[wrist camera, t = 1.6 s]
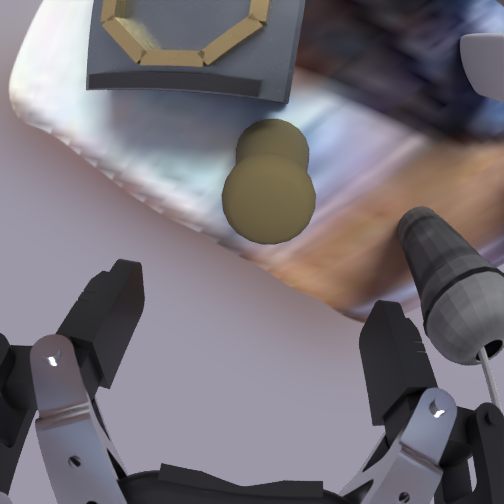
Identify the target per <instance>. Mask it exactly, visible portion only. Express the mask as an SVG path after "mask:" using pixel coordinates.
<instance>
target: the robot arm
mask: <svg viewBox="0 0 504 504" xmlns="http://www.w3.org/2000/svg"><path fill="white" fill-rule="evenodd" d="M144 301H145V296H144V286H143V274H142V266H141V263H139V262H134V261H129V260H124V259H118V260H117V261H116V263H115V264H114V266H113V267H112V269H111V270H110V272H106V271H102V272H101V273H99V274H98V275H96V276H95V277H94V278H92V279H91V280H90V282H89V283H88V285H87V286H86V287H85V289H84V292H82V294H81V295H80V296H79V298H78V301H76V303H75V304H74V306H73V307H72V308H71V310H70V312H69V313H68V315H67V316H66V318H65V319H64V321H63V323H62V324H61V326H60V327H59V329H58V331H57V332H56V334H52V335H47V336H44V337H43V338H40V339H39V340H38V341H37V342H36V343H35V344H34V345H33V346H17V345H10V344H9V342H8V340H7V339H6V337H5V336H4V335H3V334H1V333H0V504H12V502H11V500H10V498H9V497H8V494H9V490H10V486H11V483H12V479H13V476H14V472H15V469H16V466H17V463H18V460H19V457H20V454H21V451H22V448H23V445H24V442H25V439H26V436H27V434H28V431H29V428H30V426H31V423H32V420H33V418H34V415H35V413H36V410H39V418H38V419H36V421H35V428H36V433H37V437H38V441H39V445H40V449H41V453H42V456H43V460H44V463H45V466H46V470H47V473H48V476H49V479H50V483H51V486H52V488H53V491H54V494H55V497H56V499H57V502H58V504H430V502H431V499H432V498H433V495H434V504H504V416H503V414H502V412H501V410H500V409H499V408H498V407H497V406H496V405H494V404H492V403H483V404H481V405H480V406H479V407H478V408H477V409H476V410H474V411H473V410H470V409H466V408H462V407H458V406H456V403H455V401H454V399H453V397H452V396H451V395H450V394H449V393H448V392H446V391H445V390H443V389H440V388H438V386H437V382H436V379H435V377H434V373H433V370H432V367H431V364H430V361H429V359H428V355H427V353H425V351H426V350H425V347H424V344H423V343H422V339H421V336H420V334H419V331H418V329H417V327H416V326H415V325H414V324H413V322H412V321H411V320H410V319H409V318H405V316H404V313H403V310H402V308H401V305H400V304H399V303H398V302H390V301H382V300H378V301H377V302H376V303H375V305H374V307H373V309H372V311H371V313H370V315H369V317H368V319H367V321H366V323H365V325H364V327H363V328H362V331H361V333H360V338H359V348H360V354H361V358H362V364H363V369H364V375H365V380H366V386H367V392H368V397H369V404H370V411H371V417H372V424H373V426H377V425H379V426H380V425H385V432H384V433H383V434H382V436H381V437H380V439H379V441H378V442H377V444H376V446H375V447H374V449H373V450H372V452H371V453H370V455H369V456H368V458H367V459H366V461H365V462H364V464H363V465H362V467H361V468H360V470H359V471H358V473H357V474H356V475H355V476H354V477H353V479H352V480H351V481H350V482H349V483H348V484H347V485H346V486H345V487H344V488H343V489H342V490H341V491H340V493H339V494H336V493H333V492H330V491H327V490H324V489H323V481H285V480H284V481H279V482H273V483H267V484H260V485H254V486H239V485H236V484H233V483H230V482H227V481H225V480H222V479H220V478H217V477H214V476H212V475H209V474H207V473H204V472H202V471H197V470H192V469H187V468H181V467H177V466H172V465H167V464H163V463H162V464H161V468H160V470H154V471H144V472H140V473H135V474H132V475H128V473H127V471H126V469H125V467H124V464H123V462H122V461H121V459H120V456H119V454H118V452H117V451H116V449H115V447H114V444H113V442H112V440H111V437H110V435H109V433H108V430H107V427H106V425H105V422H104V419H103V417H102V414H101V411H100V408H99V405H98V403H97V400H96V397H95V394H96V392H97V389H98V387H99V386H101V387H104V388H108V389H110V387H111V385H112V382H113V380H114V377H115V374H116V372H117V370H118V367H119V365H120V363H121V360H122V358H123V355H124V353H125V350H126V348H127V346H128V344H129V341H130V339H131V337H132V335H133V332H134V330H135V328H136V326H137V323H138V321H139V319H140V317H141V314H142V312H143V307H144ZM472 456H473V460H474V466H475V472H476V478H477V484H476V488H475V490H474V491H473V492H472V487H471V480H470V473H469V467H468V462H467V460H468V459H469V458H471V457H472Z"/></svg>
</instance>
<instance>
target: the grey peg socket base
mask: <svg viewBox="0 0 504 504" xmlns="http://www.w3.org/2000/svg"><path fill="white" fill-rule="evenodd" d="M305 1H306V0H94V3H93V10H92V18H91V26H90V35H89V46H88V59H87V78H86V90H105V89H107V90H167V91H186V92H200V93H211V94H221V95H231V96H239V97H247V98H254V99H261V100H268V101H274V102H280V103H286V104H288V102H289V96H290V90H291V84H292V79H293V73H294V67H295V61H296V55H297V49H298V43H299V37H300V31H301V25H302V19H303V13H304V7H305Z"/></svg>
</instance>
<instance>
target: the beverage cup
mask: <svg viewBox="0 0 504 504" xmlns="http://www.w3.org/2000/svg"><path fill="white" fill-rule="evenodd" d="M398 236H399V239H400V241H401V246H402V249H403V252H404V254H405V257H406V260H407V262H408V265H409V268H410V271H411V274H412V276H413V279H414V282H415V285H416V288H417V291H418V294H419V297H420V300H421V309H422V315H423V320H424V322H423V326H424V330H425V334H426V335H427V336H428V338H429V339H430V340H431V342H432V344H433V345H434V346H435V348H436V349H437V350H438V351H439V352H440V353H441V354H442V355H443V356H444V357H445V358H446V359H448V360H450V361H452V362H455V363H458V364H461V365H477V364H482V367H483V371H484V374H485V377H486V381H487V385H488V388H489V393H490V397H491V401H492V404H494V405H496V406H497V407H498V408H499V409H500V410H501V412H502V414H503V410H502V407H501V402H500V398H499V394H498V390H497V387H496V383H495V380H494V376H493V373H492V369H491V366H490V363H489V360H490V359H492V358H493V357H495V356H496V355H497V354H498V353H499V352H500V351H501V350H502V349H503V348H504V273H502V272H501V271H500V270H499V269H497V268H496V267H494V266H493V265H492V264H491V263H490V262H488V261H487V260H486V259H484V258H483V257H481V255H480V254H479V253H478V252H477V251H476V250H475V249H474V248H473V247H472V246H471V245H470V244H469V243H468V242H467V241H466V240H465V239H464V238H463V237H462V236H461V235H460V234H459V233H458V232H457V231H455V230H454V229H453V228H452V227H451V226H450V225H449V224H448V223H447V222H446V221H445V220H444V219H443V218H442V217H440V216H439V215H437V214H436V213H435V212H434V211H433V210H431V209H430V208H427V207H416V208H414V209H411V210H409V211H408V212H407V213H406V214H405V215H404V216H403V217H402V219H401V220H400V222H399V225H398Z"/></svg>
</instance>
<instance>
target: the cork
mask: <svg viewBox="0 0 504 504" xmlns="http://www.w3.org/2000/svg"><path fill="white" fill-rule="evenodd" d="M308 163H309V147H308V144H307V141H306V138H305V137H304V135H303V134H302V133H301V131H300V130H299V129H298V128H296V127H295V126H294V125H292V124H291V123H289V122H286V121H283V120H279V119H264V120H261V121H258V122H256V123H254V124H252V125H251V126H250V127H248V128H247V129H246V130H245V131H244V132H243V134H242V135H241V137H240V138H239V141H238V144H237V148H236V166H235V167H234V168H233V170H232V171H231V173H230V174H229V176H228V177H227V179H226V181H225V184H224V188H223V192H222V204H223V211H224V214H225V216H226V218H227V221H228V223H229V224H230V225H231V227H232V228H233V229H234V230H235V231H236V232H237V233H238V234H239V235H241V236H243V237H244V238H246V239H248V240H249V241H252V242H256V243H259V244H279V243H282V242H286V241H289V240H291V239H292V238H294V237H296V236H297V235H299V234H300V233H301V232H302V231H303V230H304V229H305V228H306V227H307V225H308V224H309V222H310V220H311V217H312V215H313V212H314V210H315V200H316V194H315V190H314V187H313V184H312V181H311V178H310V176H309V175H308V173H307V169H308Z"/></svg>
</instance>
